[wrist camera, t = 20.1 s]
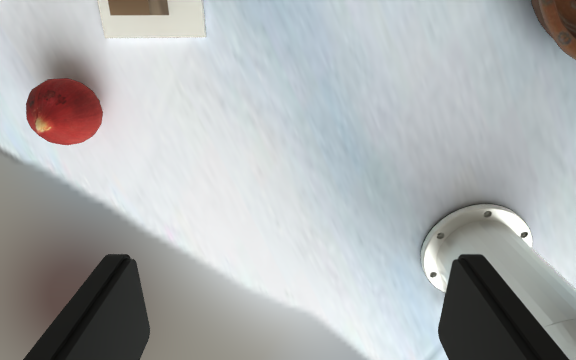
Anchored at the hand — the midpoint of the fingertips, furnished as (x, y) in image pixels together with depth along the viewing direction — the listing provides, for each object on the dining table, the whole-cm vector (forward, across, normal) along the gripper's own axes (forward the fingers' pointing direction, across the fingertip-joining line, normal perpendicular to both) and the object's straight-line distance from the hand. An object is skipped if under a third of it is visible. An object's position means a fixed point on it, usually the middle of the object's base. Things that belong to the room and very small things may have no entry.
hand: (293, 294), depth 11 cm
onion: (+28, +20, 0) cm, 34 cm away
